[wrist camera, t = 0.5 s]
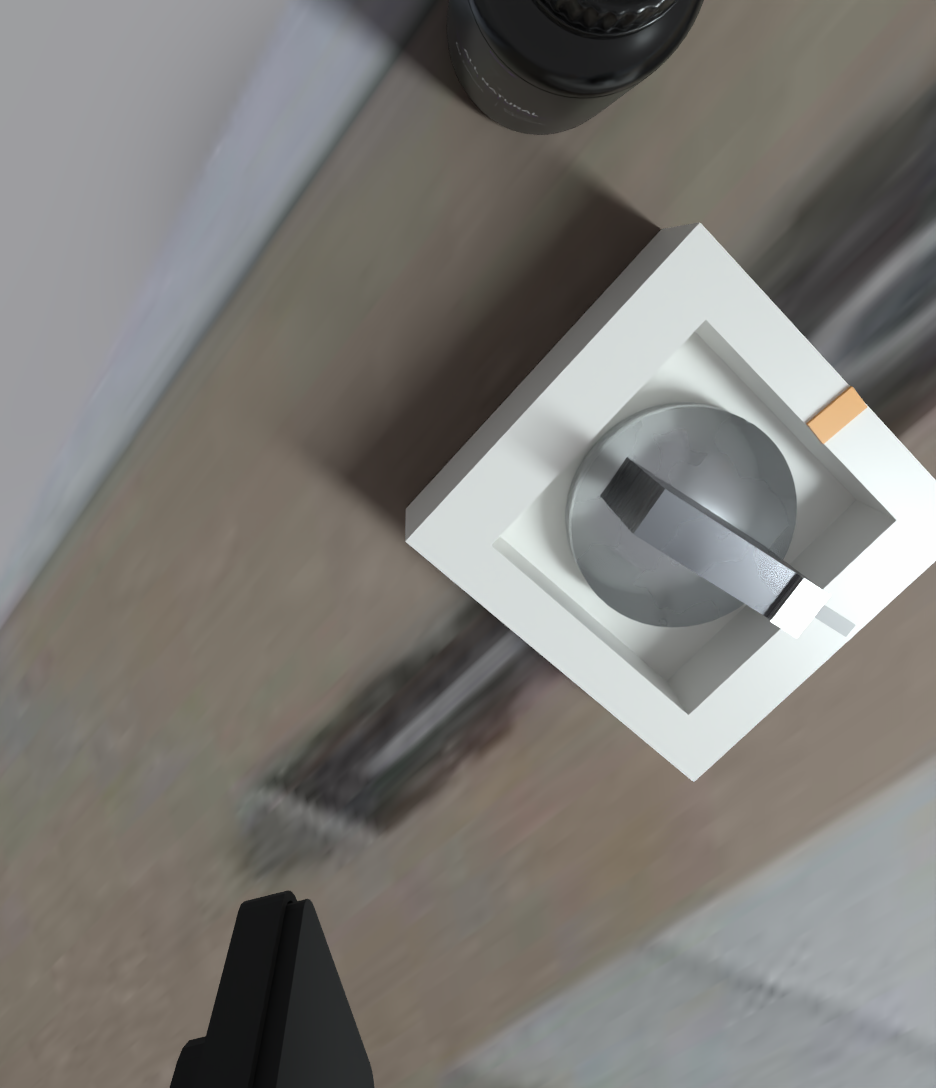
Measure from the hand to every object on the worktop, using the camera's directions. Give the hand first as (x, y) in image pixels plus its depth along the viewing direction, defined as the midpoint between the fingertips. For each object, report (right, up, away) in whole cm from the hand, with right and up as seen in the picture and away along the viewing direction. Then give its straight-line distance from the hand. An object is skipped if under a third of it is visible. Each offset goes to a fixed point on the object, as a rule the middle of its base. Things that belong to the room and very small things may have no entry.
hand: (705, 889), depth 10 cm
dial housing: (+6, +6, +26) cm, 27 cm away
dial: (+6, +5, +24) cm, 26 cm away
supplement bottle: (0, +23, +20) cm, 30 cm away
